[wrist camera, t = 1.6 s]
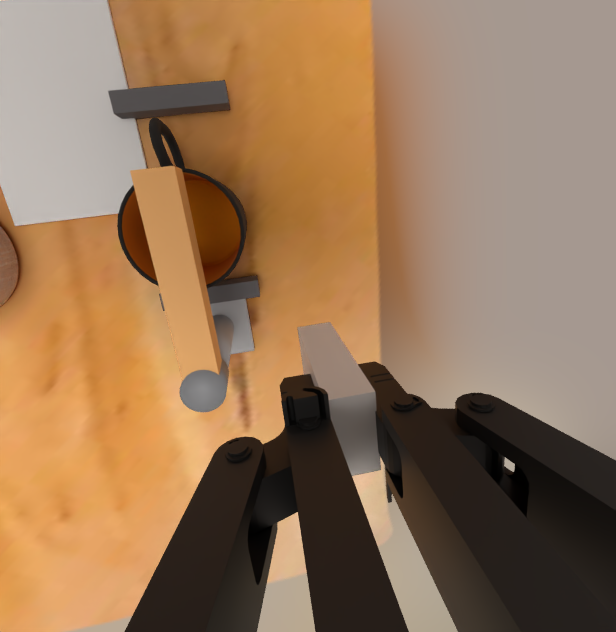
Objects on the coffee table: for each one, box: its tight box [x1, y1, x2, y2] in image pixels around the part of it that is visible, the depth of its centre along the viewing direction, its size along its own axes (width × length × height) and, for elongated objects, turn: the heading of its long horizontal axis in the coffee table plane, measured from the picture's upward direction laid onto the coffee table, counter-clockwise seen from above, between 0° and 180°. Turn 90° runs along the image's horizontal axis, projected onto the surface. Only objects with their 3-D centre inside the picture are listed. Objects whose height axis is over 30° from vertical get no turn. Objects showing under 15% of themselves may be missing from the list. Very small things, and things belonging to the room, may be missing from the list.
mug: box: [117, 118, 247, 288], centre depth 29 cm, size 8×12×10 cm
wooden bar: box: [130, 166, 229, 412], centre depth 24 cm, size 16×3×3 cm, turn 7°
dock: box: [108, 80, 260, 367], centre depth 30 cm, size 24×9×11 cm, turn 7°
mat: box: [0, 0, 148, 226], centre depth 30 cm, size 16×12×1 cm
